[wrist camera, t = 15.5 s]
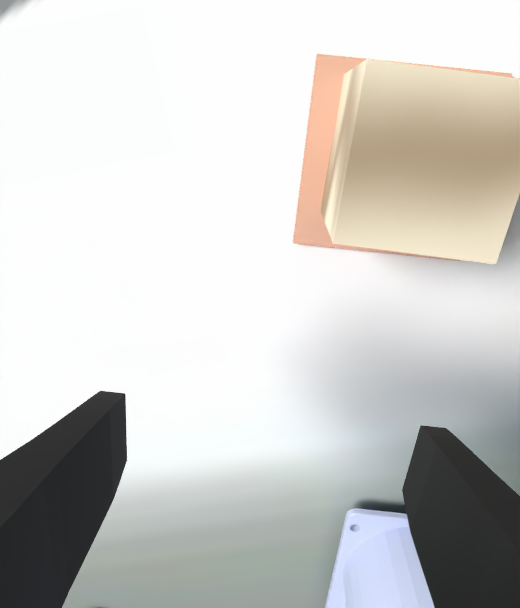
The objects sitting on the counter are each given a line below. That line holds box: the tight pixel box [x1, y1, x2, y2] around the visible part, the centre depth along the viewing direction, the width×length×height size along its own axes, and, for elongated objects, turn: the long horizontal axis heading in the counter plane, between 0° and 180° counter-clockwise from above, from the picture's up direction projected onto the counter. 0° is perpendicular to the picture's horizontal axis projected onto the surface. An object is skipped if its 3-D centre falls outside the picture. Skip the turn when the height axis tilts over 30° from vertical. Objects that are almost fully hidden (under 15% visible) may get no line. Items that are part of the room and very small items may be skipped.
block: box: [321, 59, 520, 265], centre depth 15 cm, size 5×5×5 cm
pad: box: [293, 54, 512, 261], centre depth 18 cm, size 7×7×1 cm
